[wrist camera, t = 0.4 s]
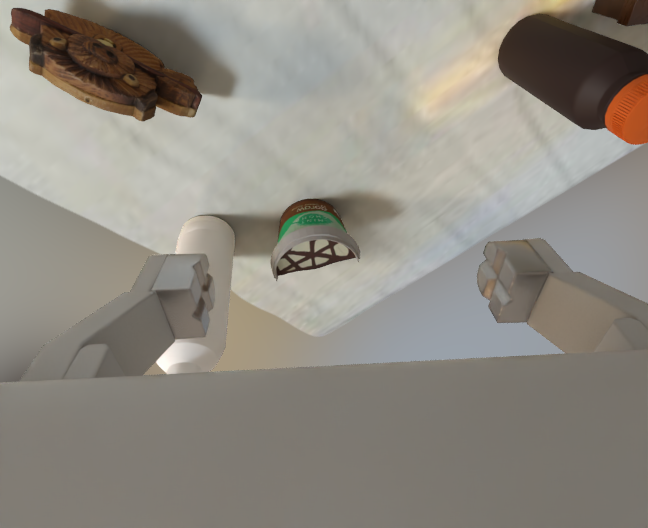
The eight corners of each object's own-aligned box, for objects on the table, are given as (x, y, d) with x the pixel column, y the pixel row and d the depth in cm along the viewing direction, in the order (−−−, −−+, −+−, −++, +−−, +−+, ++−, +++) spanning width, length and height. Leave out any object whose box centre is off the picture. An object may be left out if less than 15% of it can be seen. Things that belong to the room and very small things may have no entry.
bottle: (245, 230, 57) (234, 429, 35) (219, 263, 61) (194, 461, 39) (195, 204, 53) (148, 411, 31) (170, 241, 57) (112, 448, 35)
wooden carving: (211, 64, 41) (200, 97, 34) (201, 104, 44) (188, 142, 37) (33, -14, 35) (-27, 6, 28) (33, 38, 38) (-21, 68, 31)
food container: (343, 182, 53) (356, 225, 46) (350, 217, 58) (362, 261, 50) (258, 203, 54) (258, 248, 47) (271, 235, 58) (272, 282, 51)
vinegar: (542, 77, 47) (670, 153, 32) (489, 80, 46) (594, 158, 31) (566, 11, 42) (727, 65, 27) (507, 14, 41) (639, 70, 27)
